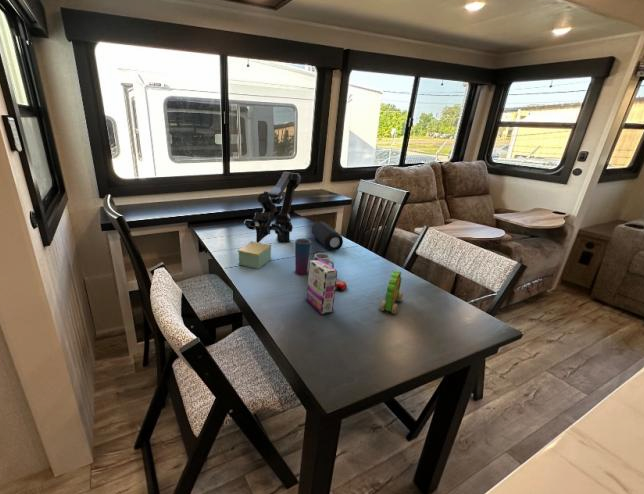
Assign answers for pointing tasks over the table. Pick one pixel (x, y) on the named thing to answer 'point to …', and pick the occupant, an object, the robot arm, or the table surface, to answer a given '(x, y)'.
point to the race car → (340, 285)
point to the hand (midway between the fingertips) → (257, 242)
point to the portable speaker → (327, 236)
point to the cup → (302, 255)
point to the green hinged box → (255, 259)
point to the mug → (324, 258)
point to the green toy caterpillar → (393, 293)
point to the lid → (254, 248)
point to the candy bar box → (321, 286)
